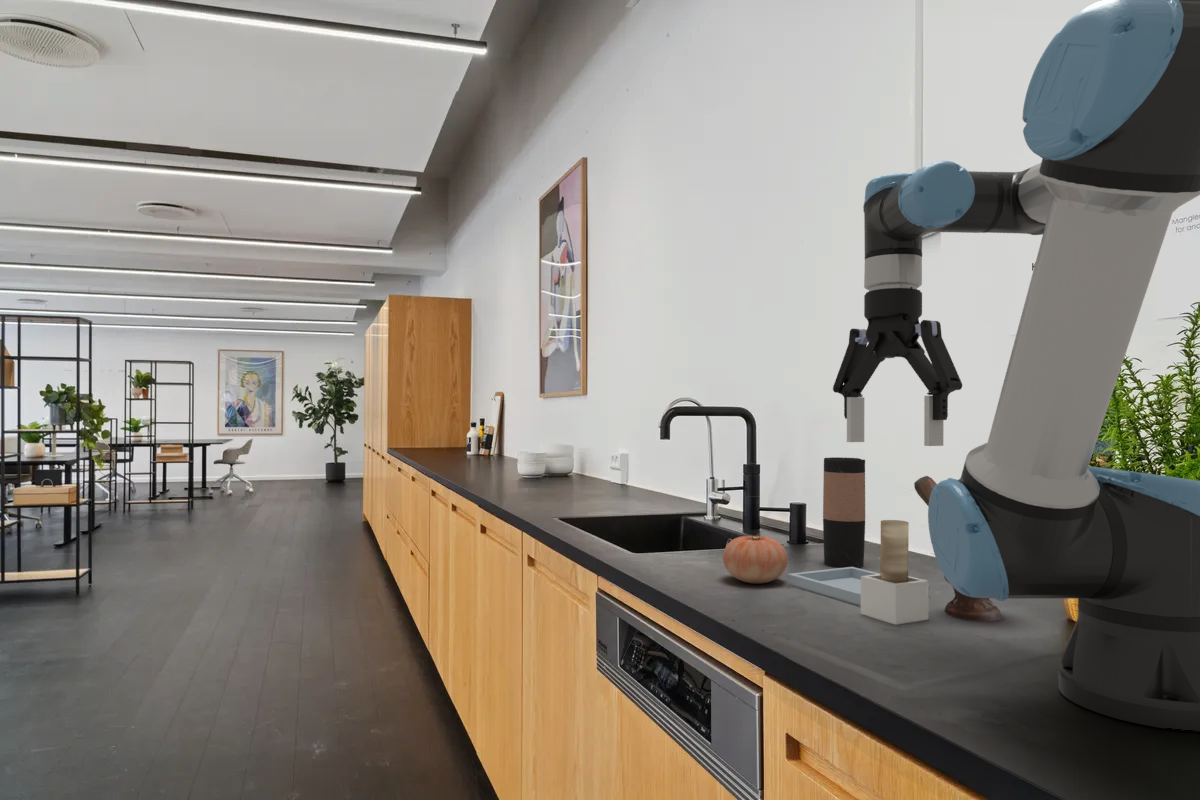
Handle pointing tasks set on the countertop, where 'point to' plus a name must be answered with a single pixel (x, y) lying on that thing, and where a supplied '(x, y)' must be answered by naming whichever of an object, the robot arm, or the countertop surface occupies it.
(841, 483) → the travel mug
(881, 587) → the open box
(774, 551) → the pumpkin
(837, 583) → the tray
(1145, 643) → the robot arm
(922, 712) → the countertop surface
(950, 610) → the mortar and pestle
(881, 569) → the dowel
